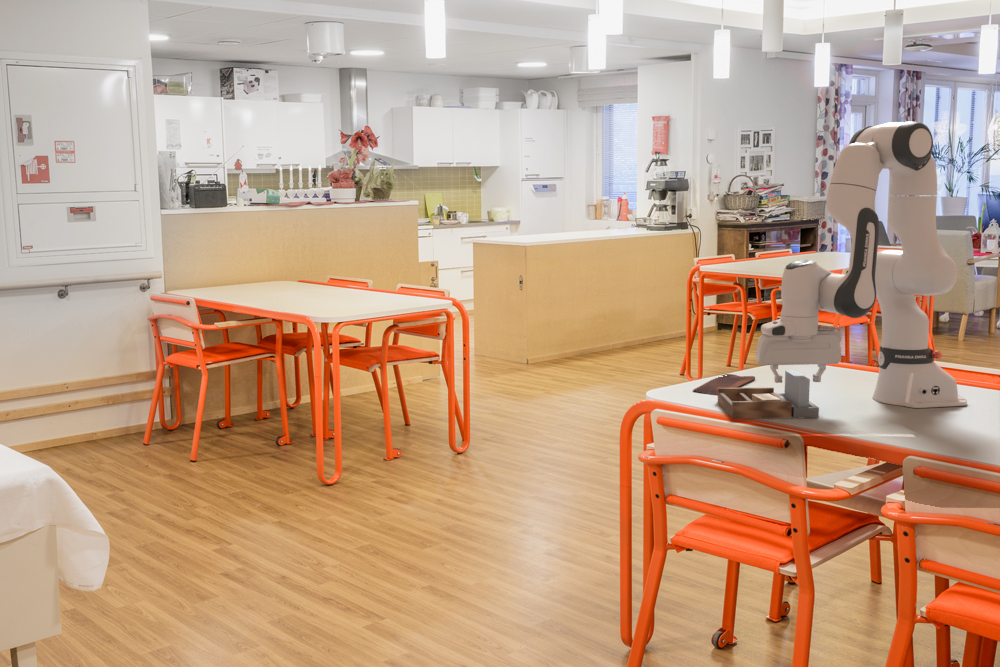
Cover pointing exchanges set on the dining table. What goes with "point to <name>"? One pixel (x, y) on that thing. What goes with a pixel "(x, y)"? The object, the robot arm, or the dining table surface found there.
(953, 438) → the dining table surface
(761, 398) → the offcut short
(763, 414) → the divided tray
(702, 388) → the wooden tablet
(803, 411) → the stand
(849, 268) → the robot arm
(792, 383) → the gray rectangular panel
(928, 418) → the dining table surface
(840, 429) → the dining table surface
